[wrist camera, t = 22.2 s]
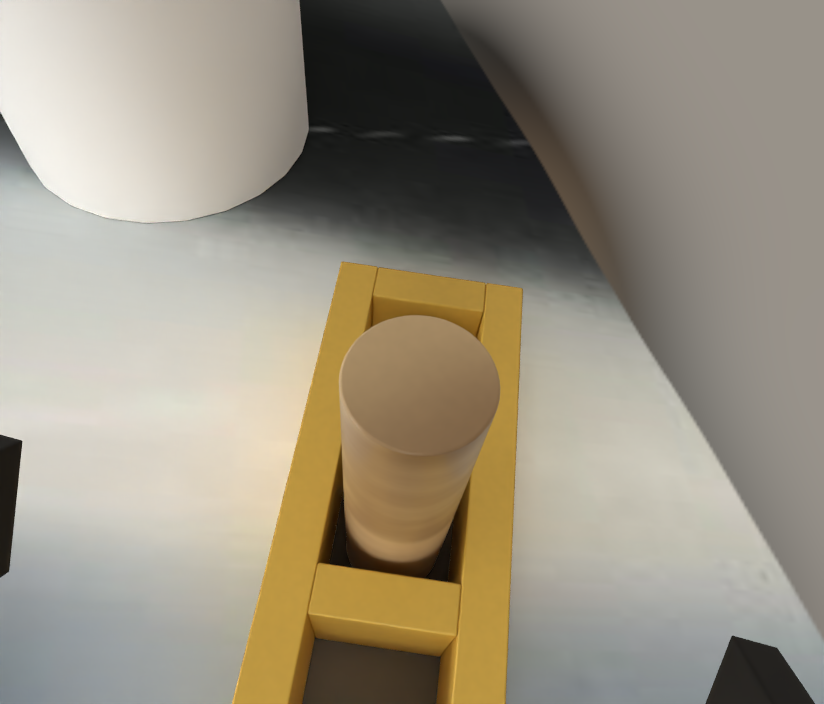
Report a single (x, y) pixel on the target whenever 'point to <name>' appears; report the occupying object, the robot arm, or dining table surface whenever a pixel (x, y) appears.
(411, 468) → the peg
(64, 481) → the dining table surface
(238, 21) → the cylinder
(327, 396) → the yellow peg holder
